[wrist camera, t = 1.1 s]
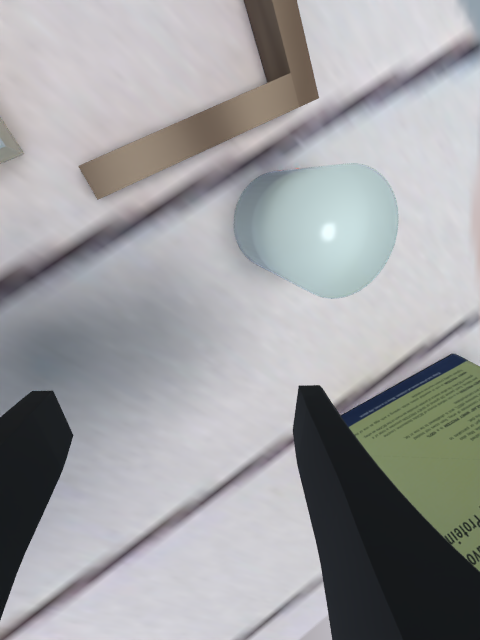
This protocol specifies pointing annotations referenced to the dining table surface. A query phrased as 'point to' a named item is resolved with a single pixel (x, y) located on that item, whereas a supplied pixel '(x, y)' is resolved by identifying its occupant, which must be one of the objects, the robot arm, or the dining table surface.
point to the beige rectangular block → (8, 144)
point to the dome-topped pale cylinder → (319, 226)
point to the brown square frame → (222, 104)
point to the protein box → (431, 446)
